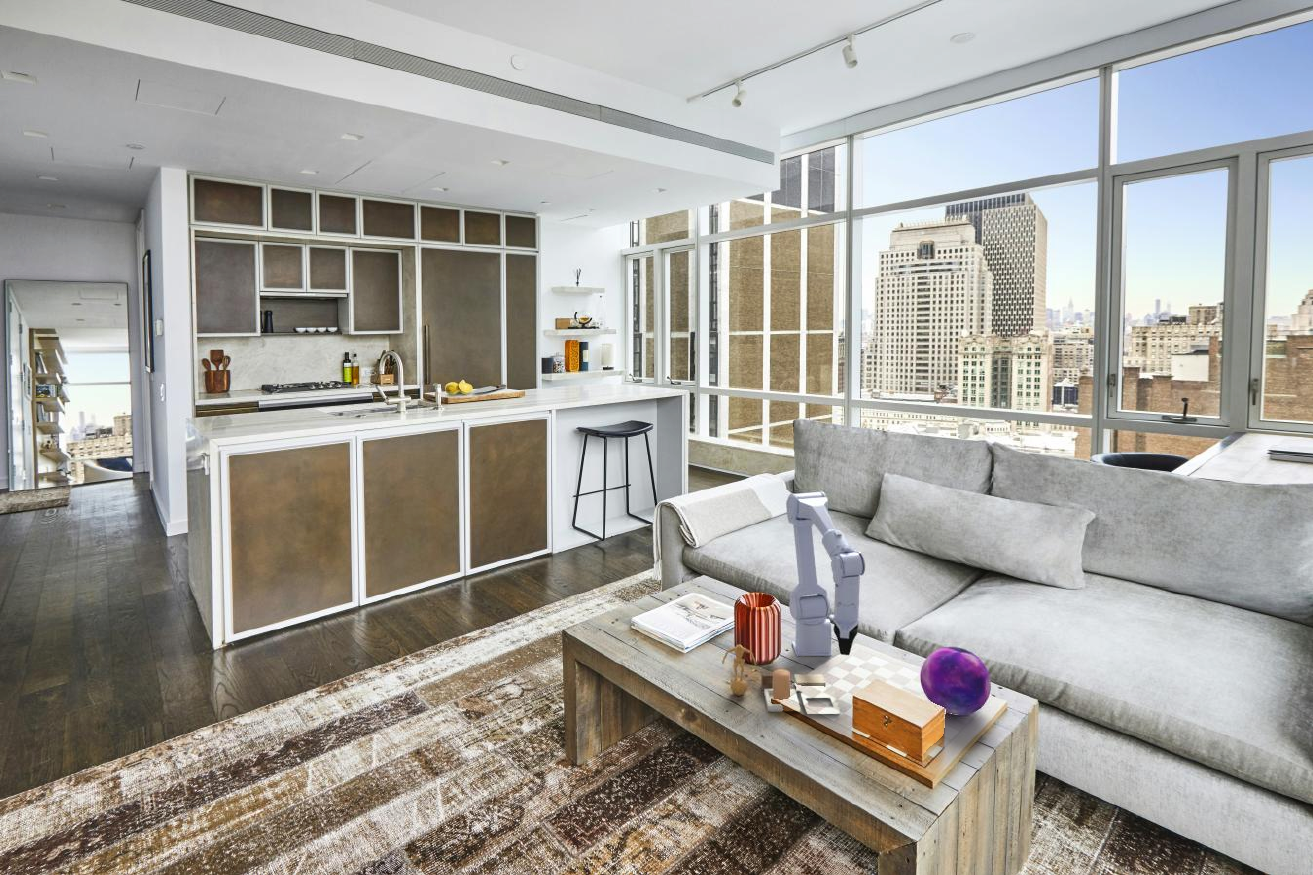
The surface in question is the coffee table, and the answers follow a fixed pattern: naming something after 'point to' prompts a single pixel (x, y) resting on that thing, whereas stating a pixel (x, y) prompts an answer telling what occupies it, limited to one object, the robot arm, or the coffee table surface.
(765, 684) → the brown rectangular block
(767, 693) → the tray
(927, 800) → the coffee table surface
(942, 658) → the decorative orb
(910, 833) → the coffee table surface
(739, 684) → the figurine
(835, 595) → the robot arm
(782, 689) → the dowel
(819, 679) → the cream rectangular block
